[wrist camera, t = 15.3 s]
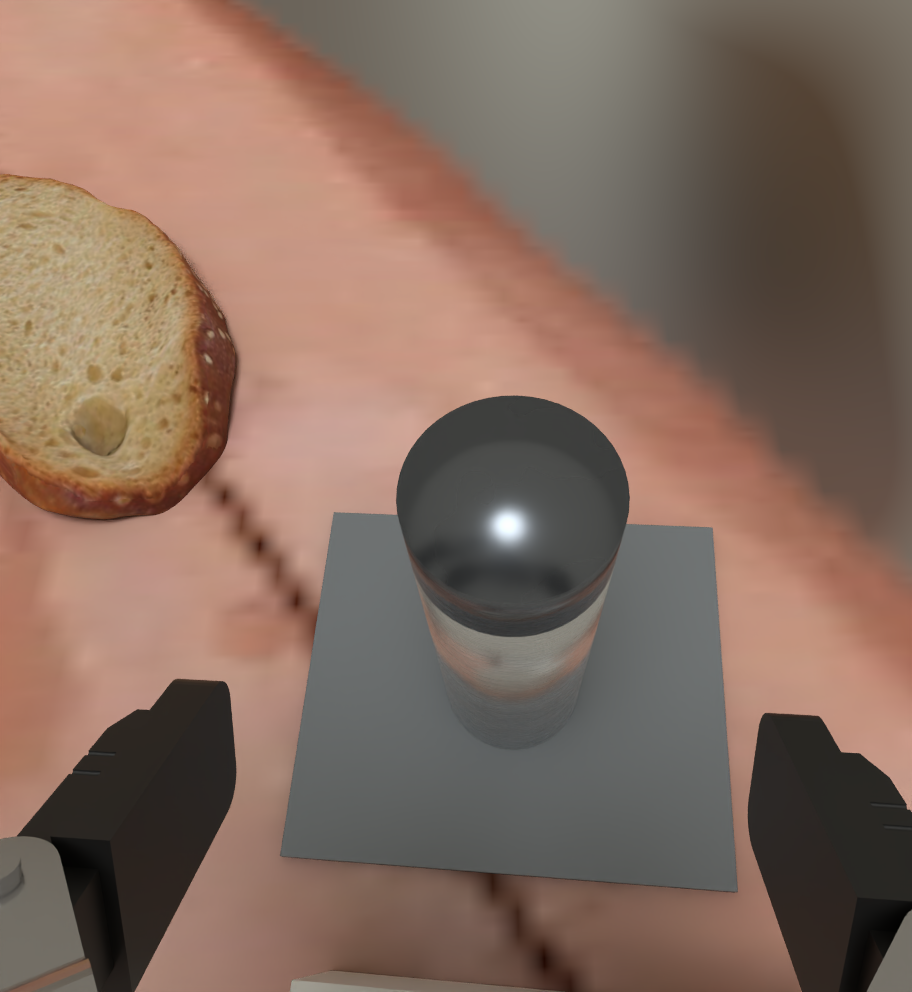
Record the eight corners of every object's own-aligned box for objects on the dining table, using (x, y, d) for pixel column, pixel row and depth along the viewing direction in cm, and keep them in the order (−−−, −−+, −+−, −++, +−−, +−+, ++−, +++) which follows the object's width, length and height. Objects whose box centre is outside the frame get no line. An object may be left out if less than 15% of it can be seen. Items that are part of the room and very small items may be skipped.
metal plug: (442, 745, 28) (384, 596, 15) (452, 617, 30) (408, 392, 17) (577, 754, 27) (631, 608, 15) (578, 623, 29) (627, 398, 17)
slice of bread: (-68, 198, 42) (-118, 136, 39) (282, 196, 41) (261, 131, 37) (-218, 521, 34) (-297, 477, 31) (212, 533, 33) (177, 488, 29)
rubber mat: (283, 856, 27) (280, 855, 26) (335, 516, 32) (333, 512, 32) (734, 892, 25) (737, 891, 25) (710, 532, 31) (712, 527, 30)
